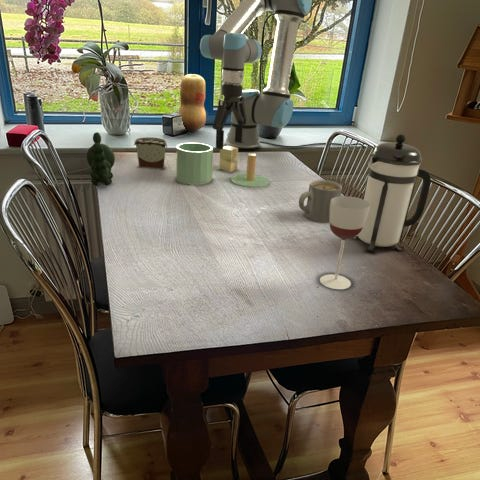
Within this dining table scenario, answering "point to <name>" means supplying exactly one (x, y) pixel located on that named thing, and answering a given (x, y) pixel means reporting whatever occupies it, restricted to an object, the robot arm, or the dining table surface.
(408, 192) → the coffee press
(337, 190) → the coffee mug
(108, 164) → the toy figurine
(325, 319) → the dining table surface
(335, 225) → the wineglass
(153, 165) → the food container
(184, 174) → the canister
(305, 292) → the dining table surface
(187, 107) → the butternut squash
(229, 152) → the block
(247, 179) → the lid
